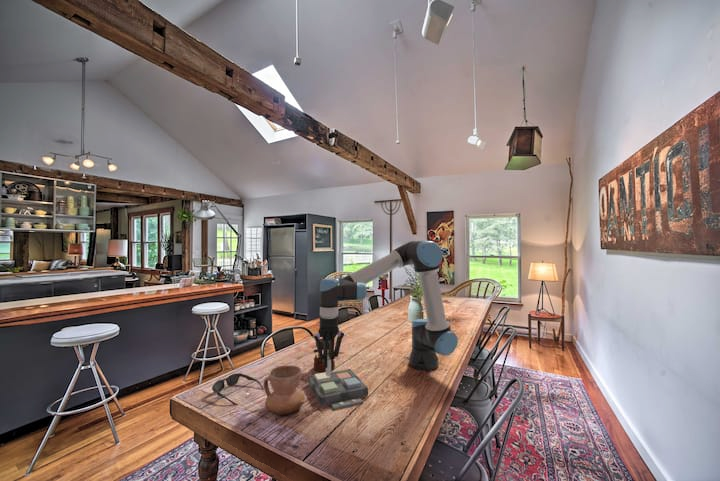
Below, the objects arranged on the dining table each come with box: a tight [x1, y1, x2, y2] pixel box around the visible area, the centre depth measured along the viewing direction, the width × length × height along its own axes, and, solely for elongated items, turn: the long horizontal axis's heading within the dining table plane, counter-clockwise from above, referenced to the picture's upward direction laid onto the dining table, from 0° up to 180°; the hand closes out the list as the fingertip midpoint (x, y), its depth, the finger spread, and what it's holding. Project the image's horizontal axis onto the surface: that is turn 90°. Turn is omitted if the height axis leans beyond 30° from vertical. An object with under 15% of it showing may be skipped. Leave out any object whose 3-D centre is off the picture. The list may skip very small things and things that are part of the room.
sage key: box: [321, 382, 338, 394], centre depth 121 cm, size 6×6×2 cm
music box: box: [311, 335, 336, 374], centre depth 150 cm, size 15×11×20 cm
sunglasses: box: [211, 372, 265, 406], centre depth 125 cm, size 16×17×5 cm
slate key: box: [344, 377, 361, 389], centre depth 125 cm, size 6×6×2 cm
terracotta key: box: [336, 372, 352, 379], centre depth 134 cm, size 6×6×2 cm
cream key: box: [314, 372, 330, 383], centre depth 130 cm, size 6×6×2 cm
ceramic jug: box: [263, 365, 306, 416], centre depth 114 cm, size 18×14×14 cm
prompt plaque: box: [330, 398, 364, 411], centre depth 116 cm, size 12×3×1 cm, turn 113°
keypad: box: [307, 368, 369, 408], centre depth 127 cm, size 20×20×4 cm
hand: (328, 374), depth 121 cm, fingers closed
